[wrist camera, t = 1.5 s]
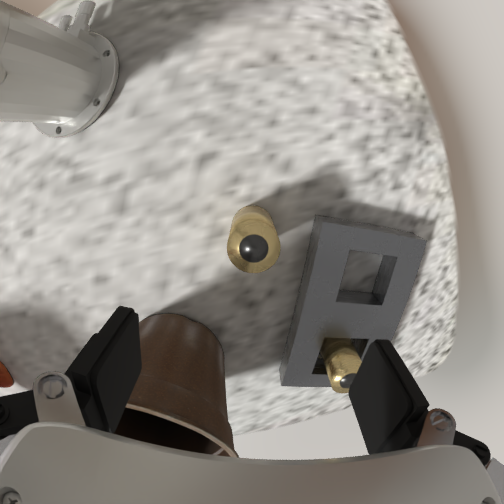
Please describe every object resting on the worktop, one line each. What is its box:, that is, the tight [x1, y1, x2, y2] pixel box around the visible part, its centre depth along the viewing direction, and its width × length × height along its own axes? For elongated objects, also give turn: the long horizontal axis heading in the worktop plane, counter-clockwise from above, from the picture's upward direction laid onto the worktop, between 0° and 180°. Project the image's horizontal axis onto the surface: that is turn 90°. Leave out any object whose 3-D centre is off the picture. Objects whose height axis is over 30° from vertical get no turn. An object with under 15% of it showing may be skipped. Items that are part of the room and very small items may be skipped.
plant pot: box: [112, 314, 239, 458], centre depth 26 cm, size 16×16×16 cm
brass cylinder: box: [227, 206, 280, 273], centre depth 25 cm, size 4×4×7 cm
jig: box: [279, 215, 427, 393], centre depth 28 cm, size 20×12×7 cm, turn 172°
